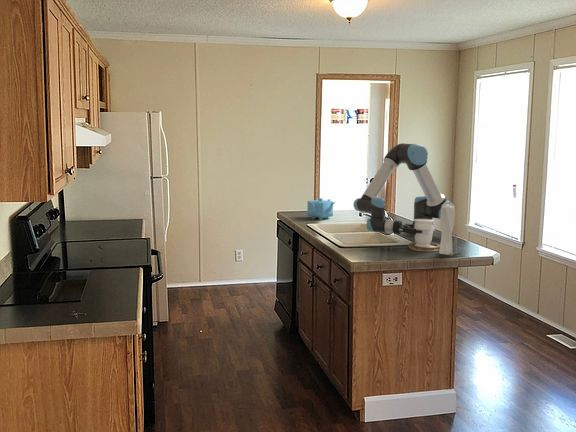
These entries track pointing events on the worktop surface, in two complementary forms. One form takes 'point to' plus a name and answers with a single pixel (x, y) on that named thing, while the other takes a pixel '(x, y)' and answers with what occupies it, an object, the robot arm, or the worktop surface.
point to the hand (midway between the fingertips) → (431, 230)
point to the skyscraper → (447, 230)
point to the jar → (423, 239)
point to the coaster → (430, 249)
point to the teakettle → (320, 208)
